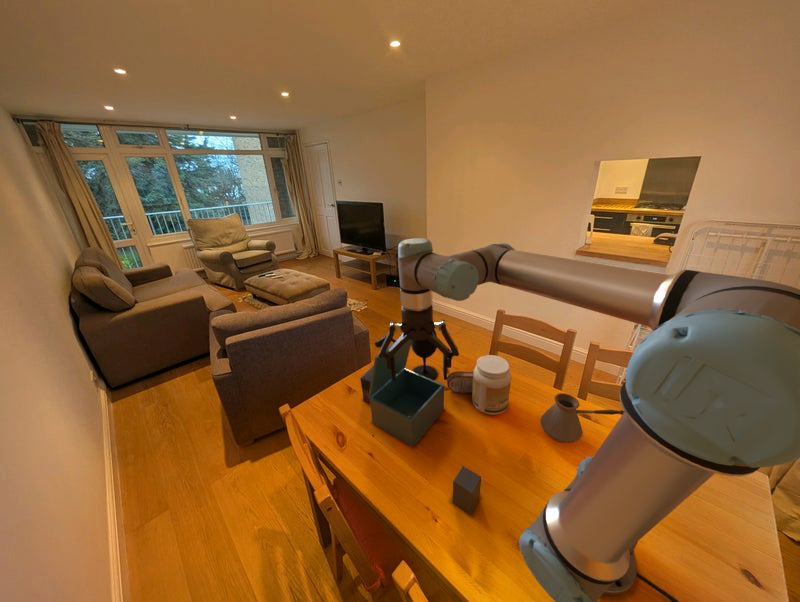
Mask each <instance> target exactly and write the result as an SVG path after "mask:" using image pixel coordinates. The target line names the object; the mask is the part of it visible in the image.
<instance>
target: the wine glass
mask: <svg viewBox="0 0 800 602" xmlns="http://www.w3.org/2000/svg"><path fill="white" fill-rule="evenodd" d="M433 333H434V334H435V336H436V337H438V335H437V332H436V328H435V329H434V330H433ZM410 348H411V350H412V352H413V353H414V354H415V355H416V356H417V357H419V358H421V359H422V365H418V366H415V368H414V369H412V371H413V372H415V373H417V374H420V375H422V376H424V377H427V378H429V379H431V380H434V381H435V380H436V379H437V377H438V371H437V369H436V368H435V367H433V366H432V365H431V366H430V365H427V363H426V362H427V359H428V358H429V357H431V356H433V355H434V354H435V353H436V352H437V350H438V348H437V347H436V346H435V345H434V344H433V343H432V342H430V341H429V340H428V339H425V340H424V341H421V340H416V341H412V343H411V347H410Z"/></svg>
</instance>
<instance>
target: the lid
mask: <svg viewBox="0 0 800 602" xmlns="http://www.w3.org/2000/svg"><path fill="white" fill-rule="evenodd" d="M386 336H387V334H385V335H384V336H382V337H381V338H380V339H378V340H377V341H375V342H374V346H375V347H376V348H380V349H381V347H382V345H383V343H384V340H385V338H386ZM396 341H397V340H396V339H394V337H393V338H392V340H391V342H392V344H391V345H389V346H388V348H387V350H389V349H390V348H391V347H392V346H393V344H394V343H395V342H396ZM411 343H412V340H410V339H409V340H408V341H407V342H406V343H404V345H403V346H402V347H401V348H400V349H399V350H398V351H397V352H396V353H395V354H394V358H395V372H396V375H397V374H398V373H399V372H400V371H402V370H403V369H404V368H406V366H407V362H408V358H409V354H410V350H411V348H412V347H411ZM387 350H386V351H387ZM373 365H374V367H373V373H372V378H371V384H370V390H369V397H371V396H372V395H373V394H375V393H376V392H377V391H378V390H379V389H380V388H382V387H383V386H384V385H385V384H386V383H387V382H389V381H390V380H391V379H392V371H391V369H388V368H387V361H386V358H380V357H379V354H377V355H376V356H375V357H374V361H373Z"/></svg>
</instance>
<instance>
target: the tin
mask: <svg viewBox="0 0 800 602" xmlns="http://www.w3.org/2000/svg"><path fill="white" fill-rule="evenodd" d="M473 372H474V371H461V370H460V371H459V370H458V371H452V372H451V373H449V374H447V380H446V385H447V388H448V389H449V390H450V391H451V392H453V393H457V394H458V393H459V394H461V393H462V394H472V389H473Z"/></svg>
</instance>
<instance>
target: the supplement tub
mask: <svg viewBox="0 0 800 602" xmlns="http://www.w3.org/2000/svg"><path fill="white" fill-rule="evenodd" d="M472 372H473V389H472V393H471V401H472V403H473V406H474V407H475V408H476V409H477V411H479V412H481V413H483V414H486V415H491V416H497V415H500V414H503V413H504V412H506V411H507V409H508V407H509V399H510V393H511V392H510V391H511V385H512V373H511V370H510V363H509V362H508V361H507V360H506V359H505V358H503V357H501V356H498V355H494V354H487V355H486V354H485V355H482V356H480V357H478V359H477V360H476V364H475V366H474V368H473V371H472Z"/></svg>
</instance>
